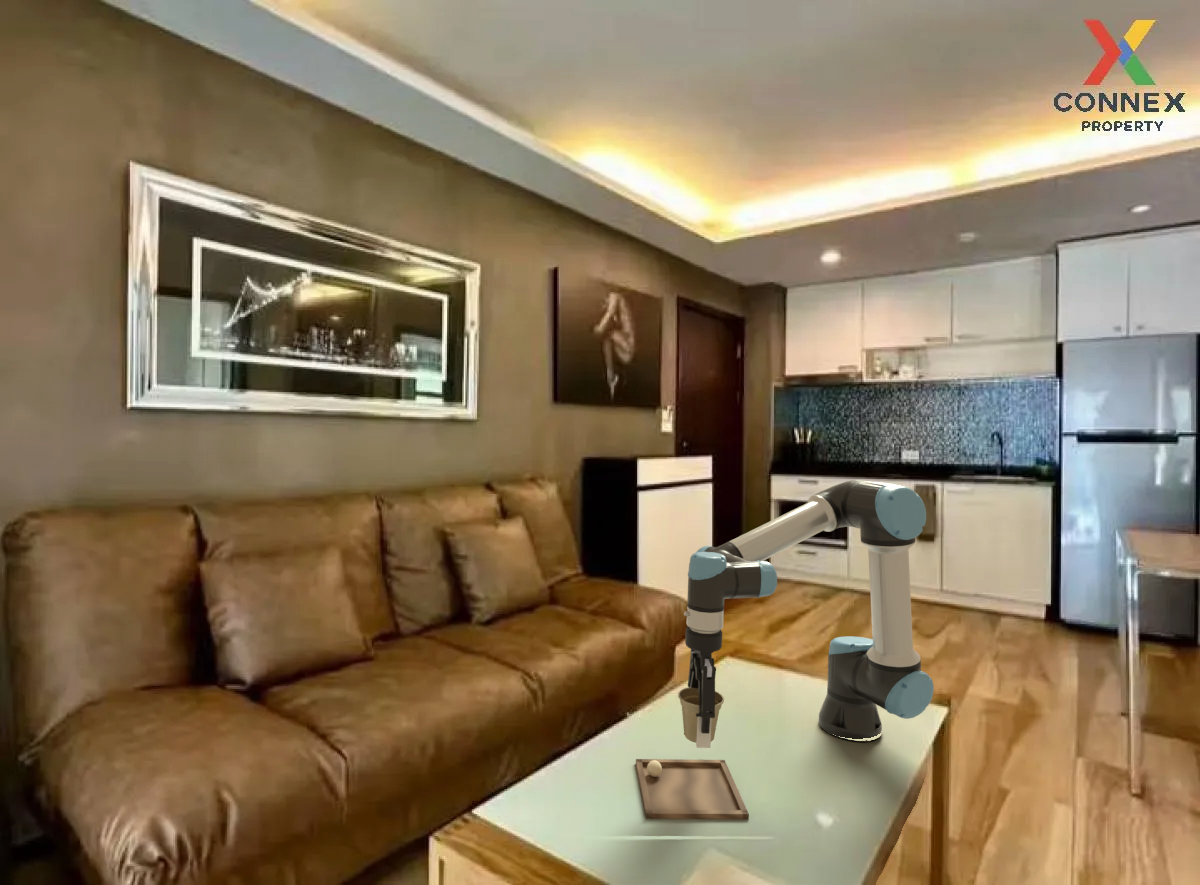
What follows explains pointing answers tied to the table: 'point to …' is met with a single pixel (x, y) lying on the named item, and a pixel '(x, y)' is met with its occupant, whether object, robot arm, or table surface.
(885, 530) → the robot arm
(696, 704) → the flower pot
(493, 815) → the table surface
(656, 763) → the cream white ball
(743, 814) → the tray
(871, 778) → the table surface
